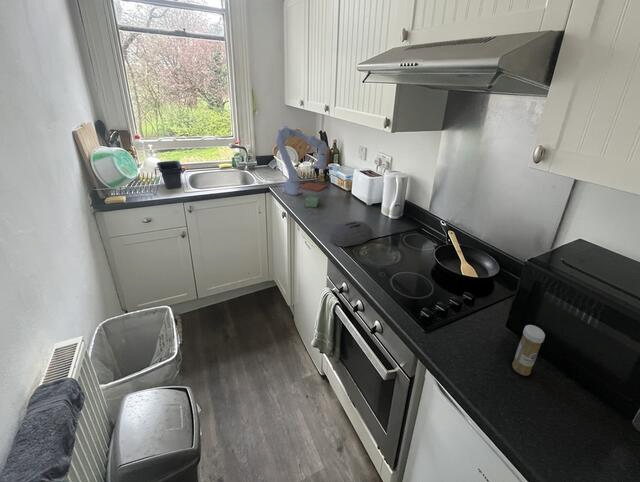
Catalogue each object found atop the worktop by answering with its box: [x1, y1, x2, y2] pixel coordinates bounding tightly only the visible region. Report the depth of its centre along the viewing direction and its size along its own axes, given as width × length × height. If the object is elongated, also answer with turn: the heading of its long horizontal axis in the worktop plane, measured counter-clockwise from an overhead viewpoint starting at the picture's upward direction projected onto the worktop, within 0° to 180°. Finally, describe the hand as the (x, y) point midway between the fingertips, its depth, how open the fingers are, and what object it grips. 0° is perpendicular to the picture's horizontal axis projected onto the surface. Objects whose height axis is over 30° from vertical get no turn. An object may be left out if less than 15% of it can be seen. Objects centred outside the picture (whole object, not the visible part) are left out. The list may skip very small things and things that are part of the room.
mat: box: [299, 181, 328, 193], centre depth 215 cm, size 16×14×1 cm
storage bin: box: [154, 160, 183, 190], centre depth 200 cm, size 21×16×14 cm
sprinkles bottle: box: [511, 324, 546, 376], centre depth 78 cm, size 5×5×13 cm
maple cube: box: [317, 173, 325, 182], centre depth 200 cm, size 4×4×4 cm
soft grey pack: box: [330, 220, 373, 248], centre depth 142 cm, size 15×8×20 cm
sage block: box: [304, 195, 319, 208], centre depth 182 cm, size 7×7×4 cm
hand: (321, 179), depth 201 cm, fingers closed on maple cube, 4 cm apart
